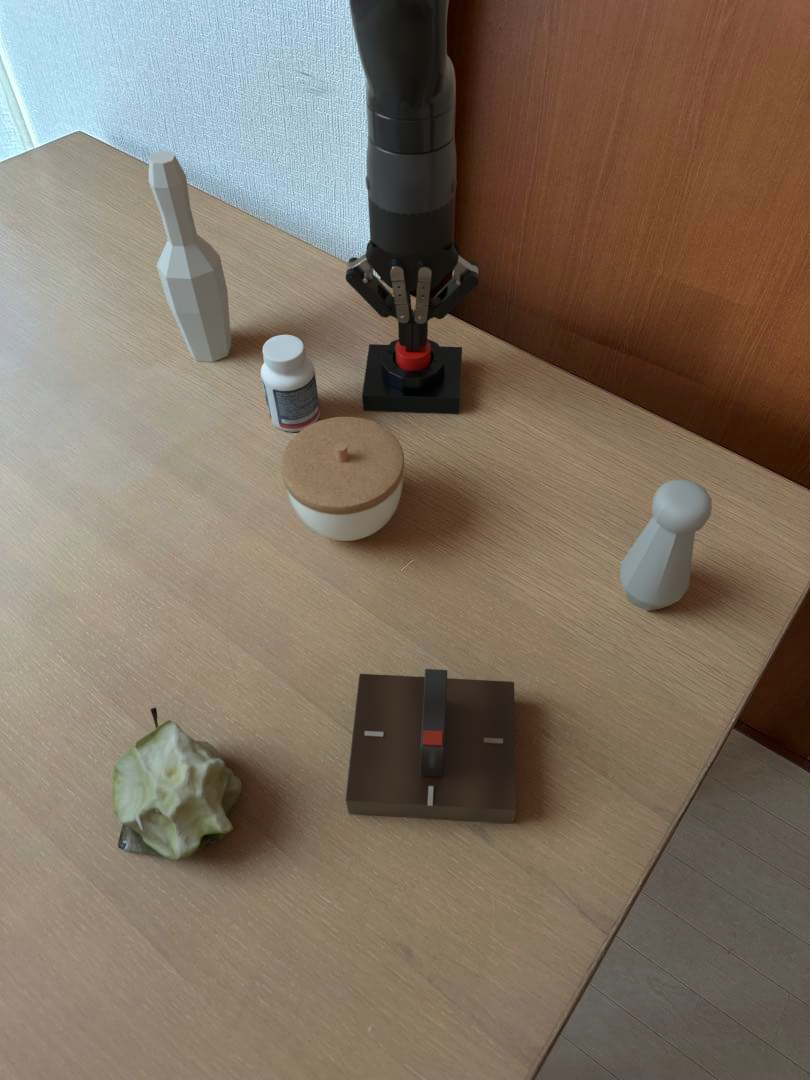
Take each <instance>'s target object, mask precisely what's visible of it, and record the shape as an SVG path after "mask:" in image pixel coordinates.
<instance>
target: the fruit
mask: <svg viewBox="0 0 810 1080" xmlns="http://www.w3.org/2000/svg"><path fill="white" fill-rule="evenodd" d="M150 712H151V716H152V718H153V722H154V726H155V729H153V730H152V731H151V732H149V733H147V734H145V735H144V736H142V737H139V739H137V740H136V741H135V742H134V743H133V744H132V748H130V749H129V750H127V751H125V752H123V753H121V754H120V755H119V757H118V758H117V760H116V761H115V763H114V767H113V768H114V769H113V774H112V780H113V781H112V793H113V799H112V800H113V801H112V809H113V813H114V815H115V816H116V818H117V819H118V821H119V822H120V824H121V829H120V833H119V838H118V842H117V848H118V849H119V850H121V851H128V852H138V853H146V854H153V855H155V856H159V857H161V858H164V859H167V860H171V861H176V862H177V861H182V860H185V859H188V858H189V857H191V856H192V855H194V854H196V853H197V852H199V851H200V850H203V849H204V848H206V847H207V846H209V845H211V844H213V843H216V842H220V841H221V840H223V838H224V837H225V836H226V834H229V833H230V832H231V831H233V830H234V826H233V825H232V824H233V823H232V822H231V820H230V819H229V815H230V814H231V812H232V810H233V808H234V807H235V805H236V803H237V801H238V800H239V796H240V793H241V790H242V782H241V779H240V778H239V777H238V776H235V775H234V772H233V771H232V770H231V769H230V768H229V767H228V766H227V765H226V763H225V761H224V759H223V758H222V757H221V755H220V754H219V751H218V749H217V748H216V747H215V746H214V745H212V744H211V743H210V742H208V741H204V740H203V741H202V740H195V739H194V738H192V736H189V735H188V734H187V733H186V731H184V730H183V729H182V727H180V725H179V724H178V723H177V722H175V721H173V720H165V721H164V722H162V723H160V724H159V723H158V711H157V707H151V708H150Z"/></svg>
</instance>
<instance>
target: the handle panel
mask: <svg viewBox="0 0 810 1080" xmlns="http://www.w3.org/2000/svg"><path fill="white" fill-rule="evenodd" d="M424 679H425V676H414V675H413V676H409V675H395V674H394V675H392V674H373V673H359V677H358V684H357V693H356V701H355V709H354V710H355V711H354V720H353V728H352V738H351V746H350V754H349V755H350V756H349V762H348V763H349V764H348V772H347V773H348V774H347V781H346V782H347V784H346V790H345V791H346V792H345V803H346V808H347V813H348V814H350V815H363V816H364V815H365V816H380V817H396V818H411V819H412V818H413V819H426V820H427V819H429V820H446V821H459V822H460V821H461V822H478V823H491V824H493V823H495V824H511V825H512V824H513V822H514V818H515V814H516V810H517V792H516V791H517V789H516V788H517V785H516V783H517V781H516V780H517V779H516V716H515V715H516V714H515V713H516V711H515V709H516V708H515V682H514V681H509V680H508V681H506V680H489V679H468V678H450V677H449V678H448V677H447V695H446V719H445V743H444V763H443V776H442V777H432V776H421V775H420V746H421V729H422V712H423V695H424Z"/></svg>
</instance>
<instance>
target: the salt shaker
mask: <svg viewBox="0 0 810 1080" xmlns="http://www.w3.org/2000/svg"><path fill="white" fill-rule="evenodd" d="M712 505H713V503H712V497H711V496H710V494H709V492H708V491H707V490H706V488H704V487H703V486H701V485H700V484H698V483H697V482H694V481H690V480H687V479H671V480H668V481H666V482H664V483H662V484H661V485H660V487H659V488H658V489H657V490H656V491H655V493H654V495H653V496H652V501H651V515H652V517H651V519H650V520H649V522H648V523H647V524H646V526H645V528H644V529H643V530H642V532H641V533H640V534H639V536H638V538H637V539H636V540H635V542H634V543H633V545H632V546H631V548H630V549H629V551H628V552H627V553H626V555H625V556H624V558H623V559H622V560H621V562H620V563H619V564H620V565H619V581H620V584H621V585H622V588H623V590H624V592H625V595H626V598H627V601H628V602H630V603H631V604H633V605H635V606H637V607H638V608H640V609H642V610H644V611H646V612H651V611H655V610H659V609H664V608H667V607H669V606H672V605H674V604H675V603H677V602H679V601H681V599H682V598H683V597H684V595H685V593H686V592H687V591H688V589H689V587H690V579H691V572H692V571H691V569H692V562H693V554H694V553H693V552H694V544H695V539H696V538H695V537H696V532H697V531H700V530H701V529H703V528H704V526H705V525H706V523H707V522H708V521H709V518H710V517H711V514H712V510H713V509H712V507H713V506H712Z"/></svg>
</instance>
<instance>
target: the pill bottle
mask: <svg viewBox="0 0 810 1080" xmlns="http://www.w3.org/2000/svg"><path fill="white" fill-rule="evenodd" d="M262 357H263V363H262V366H261V368H260V378H261V384H262V388H263V394H264V397H265V398H264V399H265V402H266V408H267V412H268V416H269V419H270V421H271V423H272V425H274V427H276V428H277V429H278V430H281V431H284V432H289V433H290V432H291V433H296V432H300V431H301V430H303V429H304V428H306V427H308V426H309V425H311V424H314V423H316V422H318V421H319V418H320V415H321V408H320V407H321V406H320V400H319V394H318V393H319V392H318V386H317V379H316V371H315V366H314V363H313V361H312V360H311V359H310V357H308V356H307V354H306V349H305V345H304V342H303V340H302V339H301V338H299V337H298V336H296V335H292V334H278V335H275V336H272V337H270V338H269V339H267V340H266V341H265V342H264V344H263V346H262Z"/></svg>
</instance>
